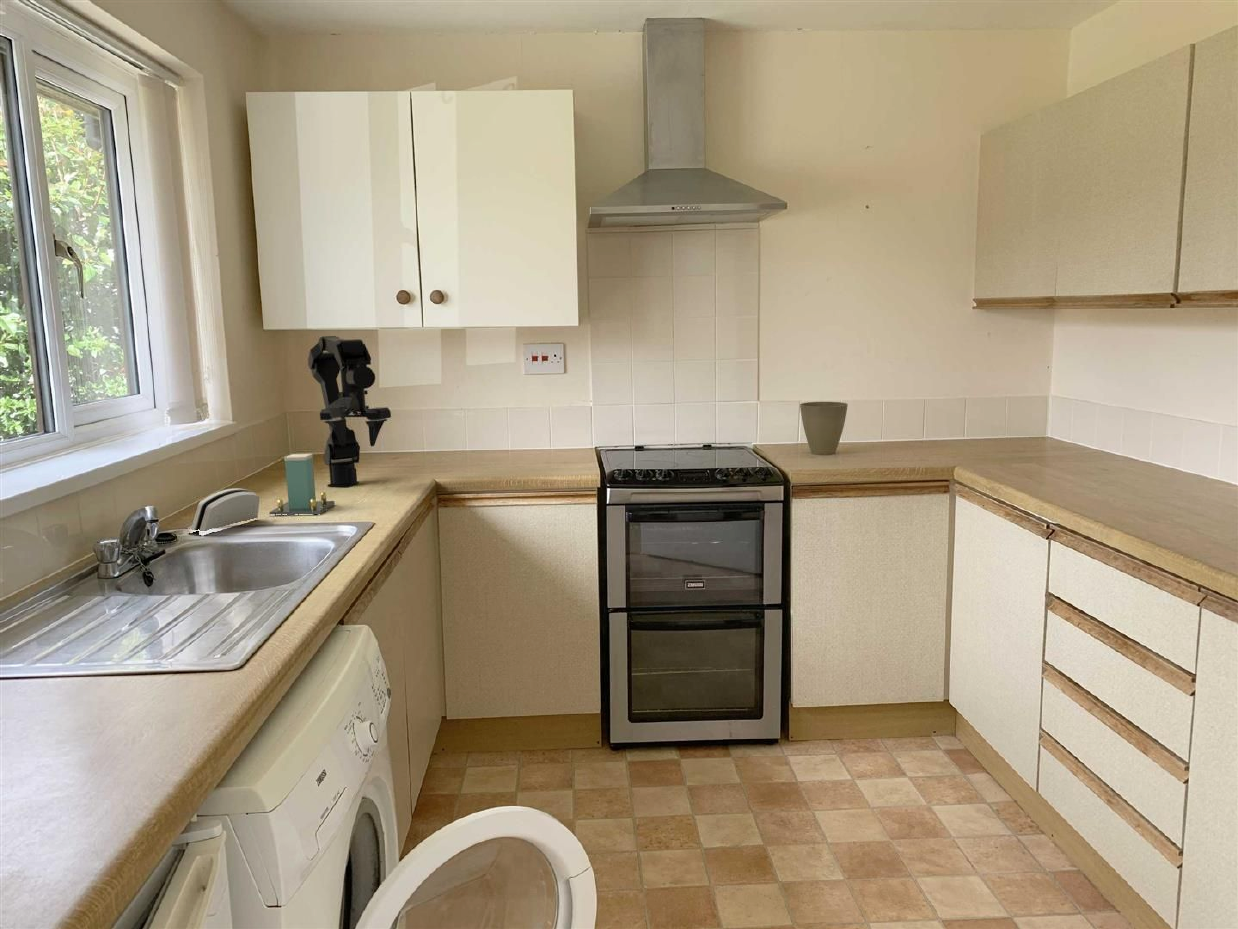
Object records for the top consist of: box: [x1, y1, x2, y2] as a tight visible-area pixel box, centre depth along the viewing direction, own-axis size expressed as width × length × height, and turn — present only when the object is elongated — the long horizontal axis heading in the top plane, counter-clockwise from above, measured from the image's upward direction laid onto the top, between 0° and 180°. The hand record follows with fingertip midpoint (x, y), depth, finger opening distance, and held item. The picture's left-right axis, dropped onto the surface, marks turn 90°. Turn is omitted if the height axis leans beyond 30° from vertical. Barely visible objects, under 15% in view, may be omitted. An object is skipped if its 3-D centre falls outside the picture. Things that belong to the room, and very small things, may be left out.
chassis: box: [269, 492, 335, 515], centre depth 227 cm, size 12×12×4 cm
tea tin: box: [283, 453, 317, 509], centre depth 226 cm, size 5×5×13 cm
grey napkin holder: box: [187, 487, 260, 531], centre depth 210 cm, size 17×5×10 cm, turn 158°
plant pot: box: [799, 401, 848, 456], centre depth 295 cm, size 15×15×16 cm
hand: (357, 446), depth 245 cm, fingers open, 9 cm apart
